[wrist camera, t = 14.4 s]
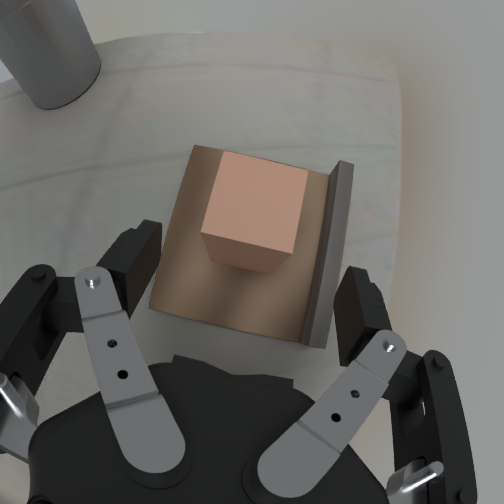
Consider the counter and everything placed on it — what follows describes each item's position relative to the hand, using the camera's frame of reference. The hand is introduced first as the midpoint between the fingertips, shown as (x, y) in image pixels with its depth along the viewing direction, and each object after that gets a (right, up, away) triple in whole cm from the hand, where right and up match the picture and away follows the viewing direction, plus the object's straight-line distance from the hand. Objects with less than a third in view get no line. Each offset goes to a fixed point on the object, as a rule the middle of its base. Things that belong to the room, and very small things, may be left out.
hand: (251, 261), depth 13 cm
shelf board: (0, +1, +13) cm, 13 cm away
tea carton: (0, +1, +12) cm, 12 cm away
